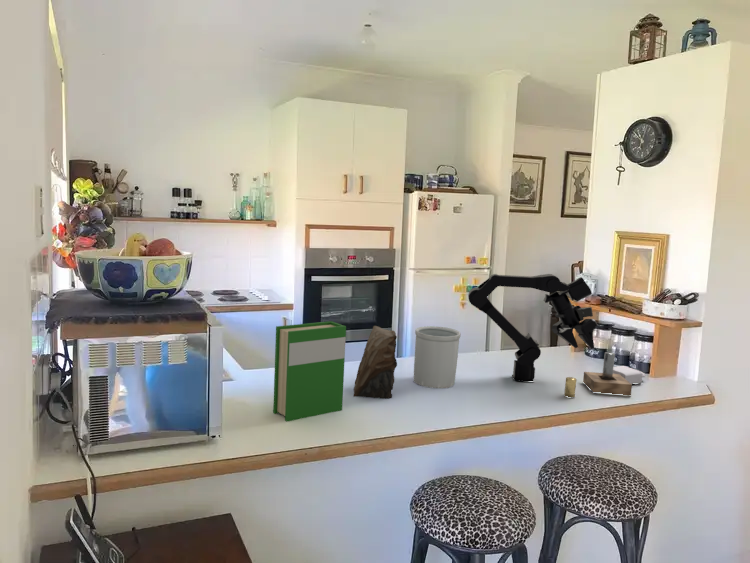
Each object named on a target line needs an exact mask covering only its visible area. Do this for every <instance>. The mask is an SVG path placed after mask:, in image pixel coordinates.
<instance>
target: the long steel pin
mask: <svg viewBox="0 0 750 563" xmlns="http://www.w3.org/2000/svg"><path fill="white" fill-rule="evenodd" d="M615 356H616V354H615V352H612V351H611V352H609V351H605V352H604V356H603V365H602V366H603V367H602V372H601V373H602V380H612V376H613V367H615V366H614V365H615Z"/></svg>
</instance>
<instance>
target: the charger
mask: <svg viewBox="0 0 750 563" xmlns="http://www.w3.org/2000/svg"><path fill="white" fill-rule="evenodd" d="M613 374H620V375H621V376H622V377H623V378H625V379H626V380H627V381H628V382H629V383H631V384H633V383H640V382H641V383H643V382H642V381H643V378H645V377H646V373H645V372H642V371H641V370H639V369H634V368H631V367H628V366H626V365H618V366H614V367H613Z"/></svg>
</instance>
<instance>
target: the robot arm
mask: <svg viewBox="0 0 750 563" xmlns="http://www.w3.org/2000/svg"><path fill="white" fill-rule="evenodd" d="M498 287H503V288H504V287H505V288H525V289H534V290H538V291H542V292H546V294H544V299H543V301H544V302H545V304H548V303H549V302H550V303H551V305H552V307H553V309H554V311H555V313H556V314H555V315H554V316H555V317H556V318H558V319H559V320H558V321H557V322H556V323H554V324H552V326H551V331H552V333H553V334H556V336H558V337H560V339H562V340H564V341H566V343H568V344H570V345H571V346H572V347H573V348H575V349H578V348H579V345H578V342H577V340H576V337H575V335H574V330H575V332H576V333H577V337H579V338H580V339H581V340H582V341H583V343H585V344H586V345H587V347H588V348H590V349H591V350H593V349H594V348H595V344H594V343H595V341H594V334H593V333H594V330H595V329H597V326H598V323H597V321H596V319H594V318H591V317H594V314H593V308H592V307H591V306H587V307H582V306H580V305H574V306H573V304H572V303H571V301H575V302H576V303H578V302H579V301H582V300H584V299H585V298H588V297H589V296H592V295H593V292H592V290H591V288H590V286H589V285H588V284H587V283H586V281H585V280H584V278H583V277H582V276H581V277H578V278H577V279H575V280H574V281H571V282H570V283H568V284H567V283H566V282H562V281H561V280H560V278H558V276H557V275H554V274H552V273H546V274H539V275H534V276H531V275H530V276H529V275H528V276H527V275H509V274H497V273H494V274H491V275H490V276H489V277H488V278H487V279H486V280H485V281H483V282H482V283H481V284H479V285H477V287H472V288H471V289H470V290H469V291H468V293H467V294H468V295H467V297H468V302H469V303H470V305H471V306H473V307H475V308H476V309H478V310H479V311H481V312H483V313H484V314H485V315H487V316H488V317H489V318H490V319H491V320H492V321H493V322H494V323H495V324H496V325H497V327H499V328H500V329H501V330H502V332H504V333H505V334H506V335H507V336H508V337H509V338H510V339H511V340H512V341H513V342H514V343H515V345H516V346H517V347H518V349H517V350H516V351H515V352H514V357H515V360H514V361H513V371H512V374H511V377H512V376H513V377H512V379H513V378H514V379H513V381H514V380H520V381H519V382H523V381H534V380H535V374H536V368H535V365H534V363H535V361H536V360H538V359H539V358H540V357H541V353H542V352H541V349H540V343H539V342H538V341H537V340H536V339H534V338H533V337H532V336H531V335H530V333H527V334H526V335H525V334H523V333H522V332H521V331H520V330H519V328H517V327H516V326H515V325H513V323H511V322H510V320H508V318H507V317H506V316H505V315H504V314H502V312H501V311H500V310H499V309H497V308H496V307H495V305H494V304H493V303H492V302H491V300H490V299H489V296H490V295H491V294H492V293H493V292H494V291H495V289H497V288H498ZM558 291H559V292H558ZM547 293H550V294H547ZM569 298H570V299H569ZM588 317H590V318H588Z"/></svg>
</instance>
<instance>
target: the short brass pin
mask: <svg viewBox="0 0 750 563" xmlns="http://www.w3.org/2000/svg"><path fill="white" fill-rule="evenodd" d="M564 383H565V385H564V394H563V396H564V395H565V396H568V397H576V396H575V395H576V387H577V378H575V377H573V376H572V377H571V376H566V377H565V382H564ZM565 396H564V397H565Z"/></svg>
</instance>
